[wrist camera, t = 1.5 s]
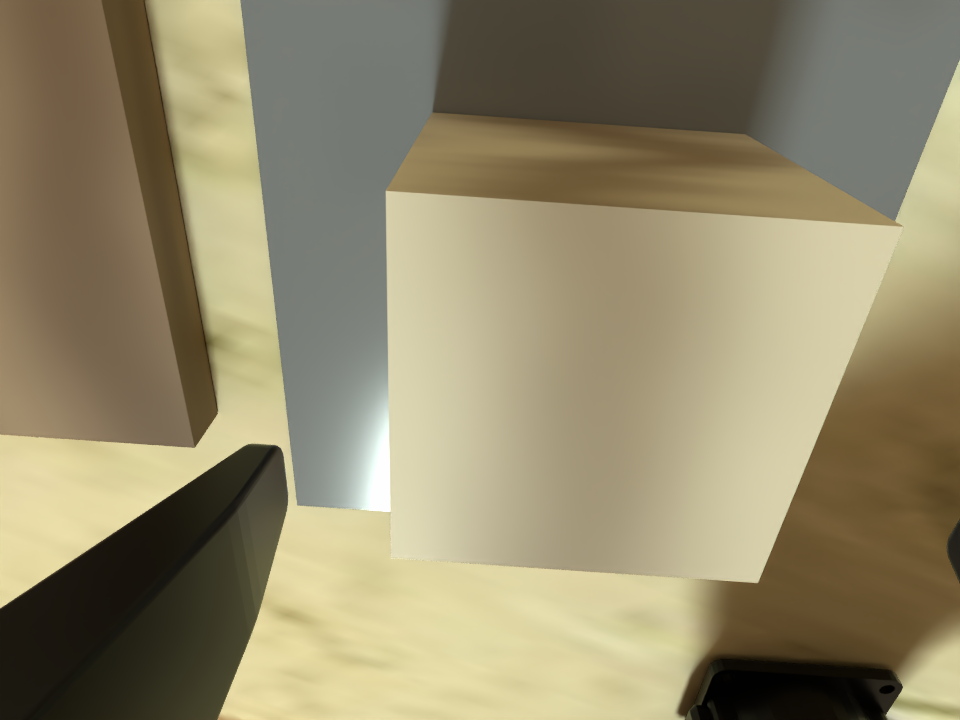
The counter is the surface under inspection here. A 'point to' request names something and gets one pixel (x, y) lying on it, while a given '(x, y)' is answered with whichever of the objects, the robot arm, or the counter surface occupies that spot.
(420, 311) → the oak block
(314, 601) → the counter surface
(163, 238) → the walnut pad
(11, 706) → the robot arm
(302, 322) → the tile
